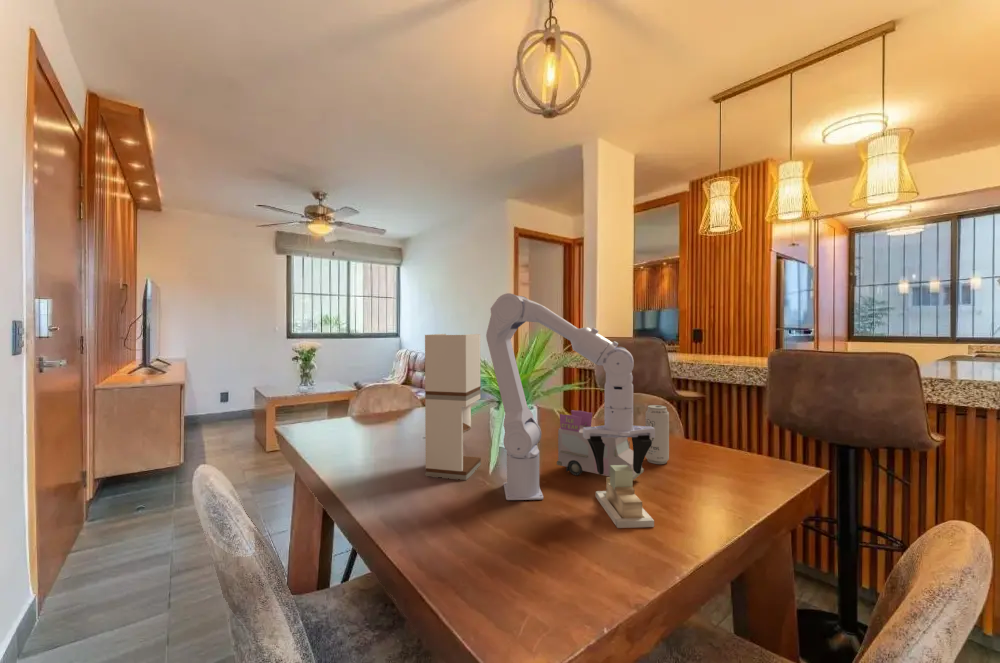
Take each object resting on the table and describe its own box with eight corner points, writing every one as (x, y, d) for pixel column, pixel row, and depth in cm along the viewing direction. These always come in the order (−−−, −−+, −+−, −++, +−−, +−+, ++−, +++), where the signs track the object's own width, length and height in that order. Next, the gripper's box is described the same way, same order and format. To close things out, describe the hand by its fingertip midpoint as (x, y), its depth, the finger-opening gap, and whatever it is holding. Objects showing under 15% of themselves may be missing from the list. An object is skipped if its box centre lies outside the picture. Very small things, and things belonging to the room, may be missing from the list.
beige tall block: (466, 480, 103) (465, 335, 103) (425, 476, 106) (424, 334, 106) (480, 465, 114) (480, 333, 114) (443, 462, 117) (442, 333, 117)
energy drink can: (640, 459, 119) (640, 405, 119) (657, 456, 121) (657, 403, 121) (657, 466, 113) (657, 409, 113) (673, 462, 116) (674, 407, 116)
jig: (595, 496, 93) (595, 491, 93) (626, 495, 94) (626, 490, 94) (617, 528, 79) (617, 521, 79) (654, 526, 79) (654, 520, 79)
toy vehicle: (630, 490, 97) (631, 424, 97) (555, 472, 109) (555, 413, 108) (644, 479, 104) (644, 417, 104) (572, 463, 116) (572, 408, 116)
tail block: (610, 484, 89) (610, 465, 89) (626, 484, 89) (626, 465, 89) (615, 490, 86) (615, 471, 86) (632, 490, 86) (632, 470, 86)
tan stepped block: (606, 502, 91) (606, 477, 91) (622, 501, 91) (622, 476, 91) (623, 526, 80) (623, 498, 80) (642, 525, 80) (642, 497, 80)
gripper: (589, 410, 84) (589, 480, 84) (661, 409, 85) (661, 478, 85) (580, 404, 91) (580, 468, 91) (647, 403, 92) (647, 466, 92)
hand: (618, 472), depth 89 cm, fingers open, 7 cm apart
